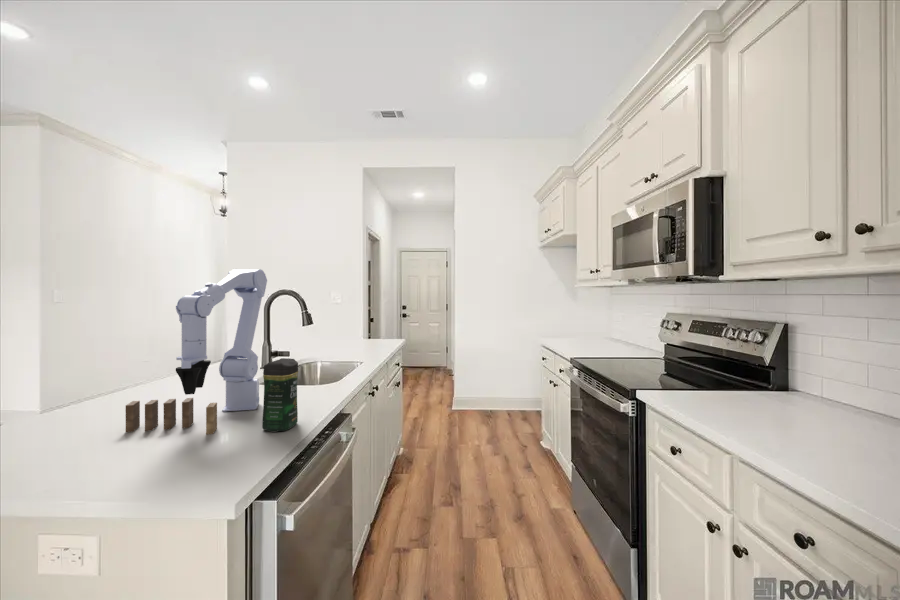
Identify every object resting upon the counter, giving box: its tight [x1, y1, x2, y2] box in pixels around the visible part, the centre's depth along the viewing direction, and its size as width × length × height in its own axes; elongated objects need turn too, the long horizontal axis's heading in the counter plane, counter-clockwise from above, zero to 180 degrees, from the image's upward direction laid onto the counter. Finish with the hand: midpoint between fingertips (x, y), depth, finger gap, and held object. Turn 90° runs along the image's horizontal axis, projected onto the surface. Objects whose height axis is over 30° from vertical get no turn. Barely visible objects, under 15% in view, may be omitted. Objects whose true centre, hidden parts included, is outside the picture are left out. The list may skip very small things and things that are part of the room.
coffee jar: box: [261, 357, 299, 433], centre depth 115 cm, size 10×8×19 cm
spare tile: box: [205, 402, 218, 435], centre depth 111 cm, size 2×4×7 cm, turn 18°
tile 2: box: [181, 397, 194, 429], centre depth 116 cm, size 2×4×7 cm, turn 18°
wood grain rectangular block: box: [125, 400, 141, 433], centre depth 112 cm, size 2×4×7 cm, turn 18°
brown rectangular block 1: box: [144, 399, 159, 432], centre depth 113 cm, size 2×4×7 cm, turn 18°
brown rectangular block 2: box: [163, 398, 177, 430], centre depth 115 cm, size 2×4×7 cm, turn 18°
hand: (194, 390), depth 114 cm, fingers open, 7 cm apart
